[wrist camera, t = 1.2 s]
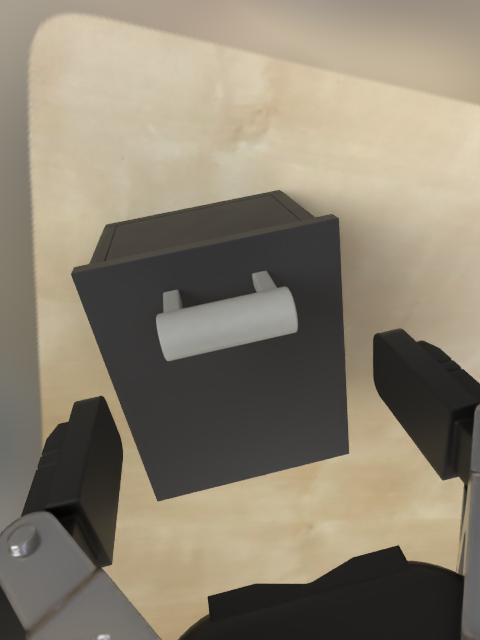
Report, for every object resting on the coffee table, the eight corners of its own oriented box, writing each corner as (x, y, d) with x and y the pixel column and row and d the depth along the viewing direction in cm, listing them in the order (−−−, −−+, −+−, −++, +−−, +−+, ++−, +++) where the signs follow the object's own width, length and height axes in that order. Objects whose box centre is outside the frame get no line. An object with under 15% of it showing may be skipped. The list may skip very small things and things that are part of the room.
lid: (73, 266, 18) (46, 322, 14) (332, 213, 19) (385, 249, 15) (157, 490, 25) (157, 575, 21) (344, 444, 26) (382, 516, 22)
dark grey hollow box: (105, 224, 27) (80, 283, 19) (279, 189, 28) (333, 230, 19) (157, 390, 34) (157, 489, 25) (298, 357, 35) (343, 443, 26)
